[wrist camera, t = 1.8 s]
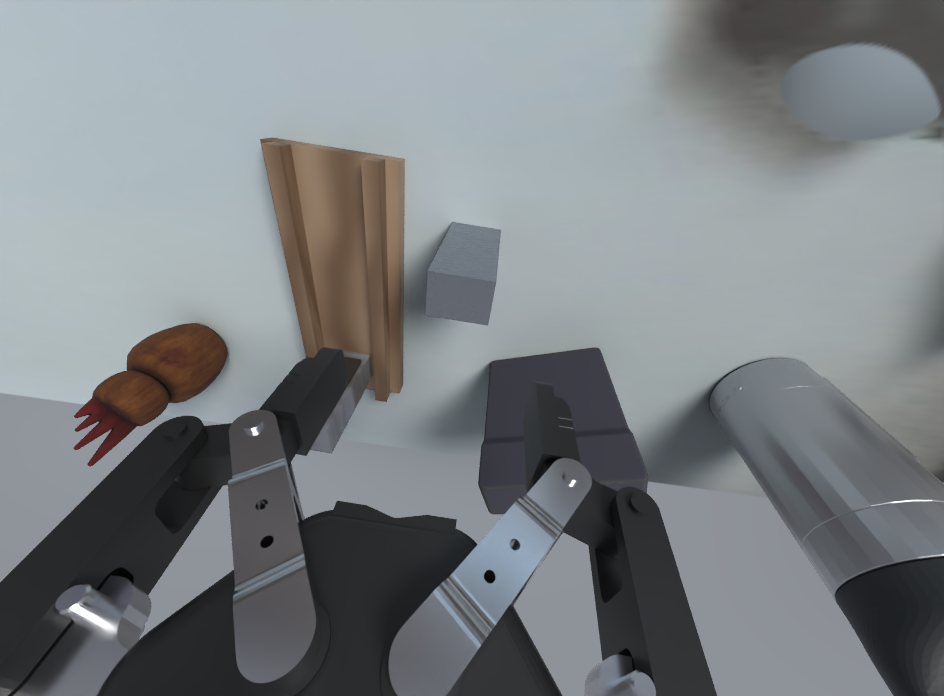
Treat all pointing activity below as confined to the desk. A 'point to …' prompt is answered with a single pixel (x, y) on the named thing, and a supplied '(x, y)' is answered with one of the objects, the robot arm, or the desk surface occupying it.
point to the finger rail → (344, 262)
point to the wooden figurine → (152, 382)
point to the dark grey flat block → (593, 415)
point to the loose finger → (464, 274)
